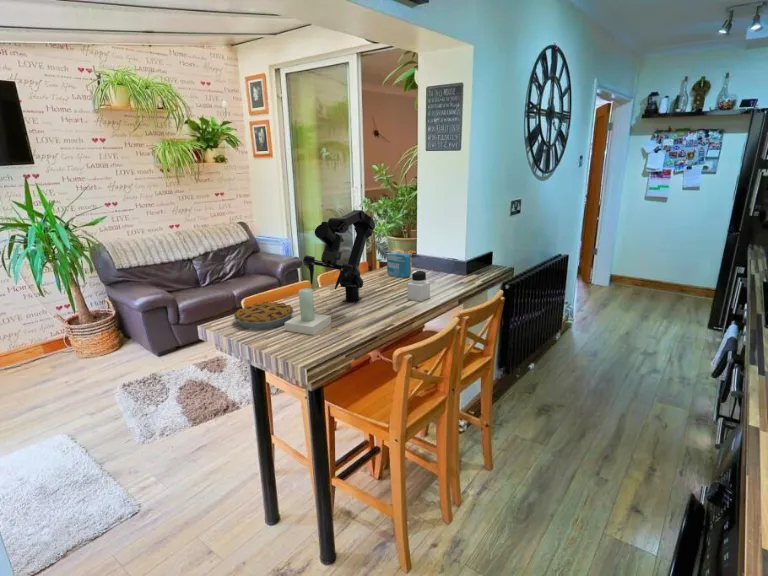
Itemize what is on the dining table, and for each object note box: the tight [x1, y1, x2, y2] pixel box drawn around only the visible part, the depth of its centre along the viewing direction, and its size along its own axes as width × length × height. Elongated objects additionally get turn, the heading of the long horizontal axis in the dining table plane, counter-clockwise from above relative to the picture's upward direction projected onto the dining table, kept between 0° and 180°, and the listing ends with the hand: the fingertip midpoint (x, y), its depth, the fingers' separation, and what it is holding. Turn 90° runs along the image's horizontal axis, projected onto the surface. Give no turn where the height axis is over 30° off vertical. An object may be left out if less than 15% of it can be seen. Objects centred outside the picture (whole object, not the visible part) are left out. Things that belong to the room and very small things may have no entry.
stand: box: [284, 313, 332, 336], centre depth 162 cm, size 12×12×3 cm
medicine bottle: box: [407, 270, 431, 303], centre depth 191 cm, size 7×7×12 cm
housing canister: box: [298, 287, 316, 322], centre depth 160 cm, size 5×5×11 cm
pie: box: [233, 301, 295, 330], centre depth 170 cm, size 22×22×5 cm
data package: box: [386, 251, 412, 279], centre depth 229 cm, size 12×4×12 cm, turn 54°
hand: (323, 286), depth 168 cm, fingers open, 9 cm apart
